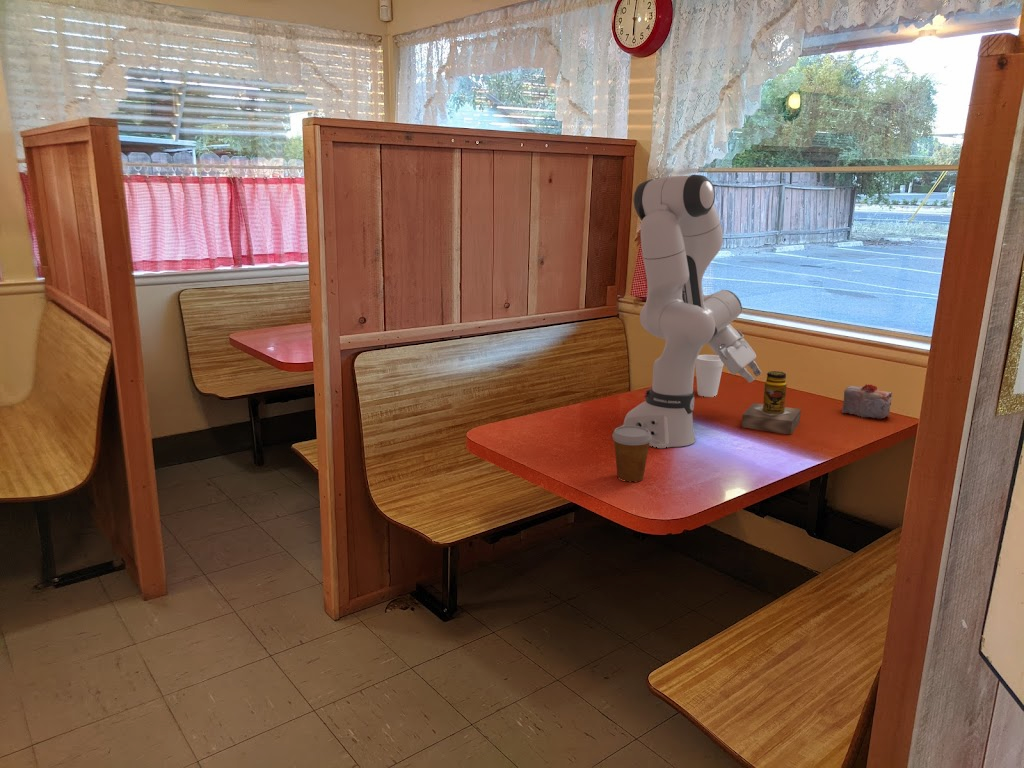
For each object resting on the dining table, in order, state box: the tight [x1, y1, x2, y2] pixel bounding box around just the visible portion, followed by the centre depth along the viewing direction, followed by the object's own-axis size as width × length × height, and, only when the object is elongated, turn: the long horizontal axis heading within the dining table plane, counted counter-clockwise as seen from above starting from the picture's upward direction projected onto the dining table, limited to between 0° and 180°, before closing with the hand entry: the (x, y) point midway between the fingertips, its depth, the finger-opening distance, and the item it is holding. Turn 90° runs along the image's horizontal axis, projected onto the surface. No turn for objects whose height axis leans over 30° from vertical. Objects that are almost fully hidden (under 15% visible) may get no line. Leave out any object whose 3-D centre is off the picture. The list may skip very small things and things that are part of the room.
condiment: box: [755, 370, 790, 415], centre depth 222 cm, size 7×8×12 cm
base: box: [741, 402, 802, 436], centre depth 224 cm, size 14×14×4 cm
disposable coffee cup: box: [611, 425, 652, 483], centre depth 182 cm, size 10×10×12 cm
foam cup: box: [695, 354, 725, 398], centre depth 255 cm, size 10×9×13 cm
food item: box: [841, 383, 894, 420], centre depth 232 cm, size 14×8×10 cm, turn 52°
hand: (756, 378), depth 223 cm, fingers open, 8 cm apart
